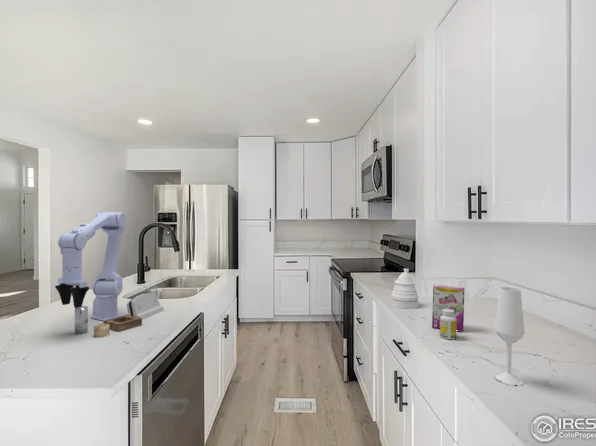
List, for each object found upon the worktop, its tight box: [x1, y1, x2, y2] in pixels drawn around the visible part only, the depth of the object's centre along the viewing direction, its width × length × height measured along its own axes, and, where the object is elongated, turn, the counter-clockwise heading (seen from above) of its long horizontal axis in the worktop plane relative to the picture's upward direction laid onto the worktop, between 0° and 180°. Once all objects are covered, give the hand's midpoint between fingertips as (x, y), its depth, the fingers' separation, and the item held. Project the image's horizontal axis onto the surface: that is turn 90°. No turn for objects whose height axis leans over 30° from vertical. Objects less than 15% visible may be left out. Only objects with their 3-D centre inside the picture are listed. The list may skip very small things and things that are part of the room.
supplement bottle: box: [439, 309, 457, 340], centre depth 122 cm, size 5×5×10 cm
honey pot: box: [390, 268, 419, 310], centre depth 168 cm, size 13×13×18 cm
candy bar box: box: [431, 284, 465, 332], centre depth 132 cm, size 11×5×16 cm, turn 65°
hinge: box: [126, 292, 165, 321], centre depth 147 cm, size 17×5×10 cm, turn 167°
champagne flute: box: [494, 286, 525, 384], centre depth 89 cm, size 7×7×24 cm
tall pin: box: [74, 305, 89, 335], centre depth 123 cm, size 4×4×9 cm
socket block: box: [102, 314, 143, 333], centre depth 130 cm, size 10×10×3 cm
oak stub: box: [93, 323, 111, 338], centre depth 120 cm, size 5×5×4 cm
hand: (72, 305), depth 120 cm, fingers open, 7 cm apart
